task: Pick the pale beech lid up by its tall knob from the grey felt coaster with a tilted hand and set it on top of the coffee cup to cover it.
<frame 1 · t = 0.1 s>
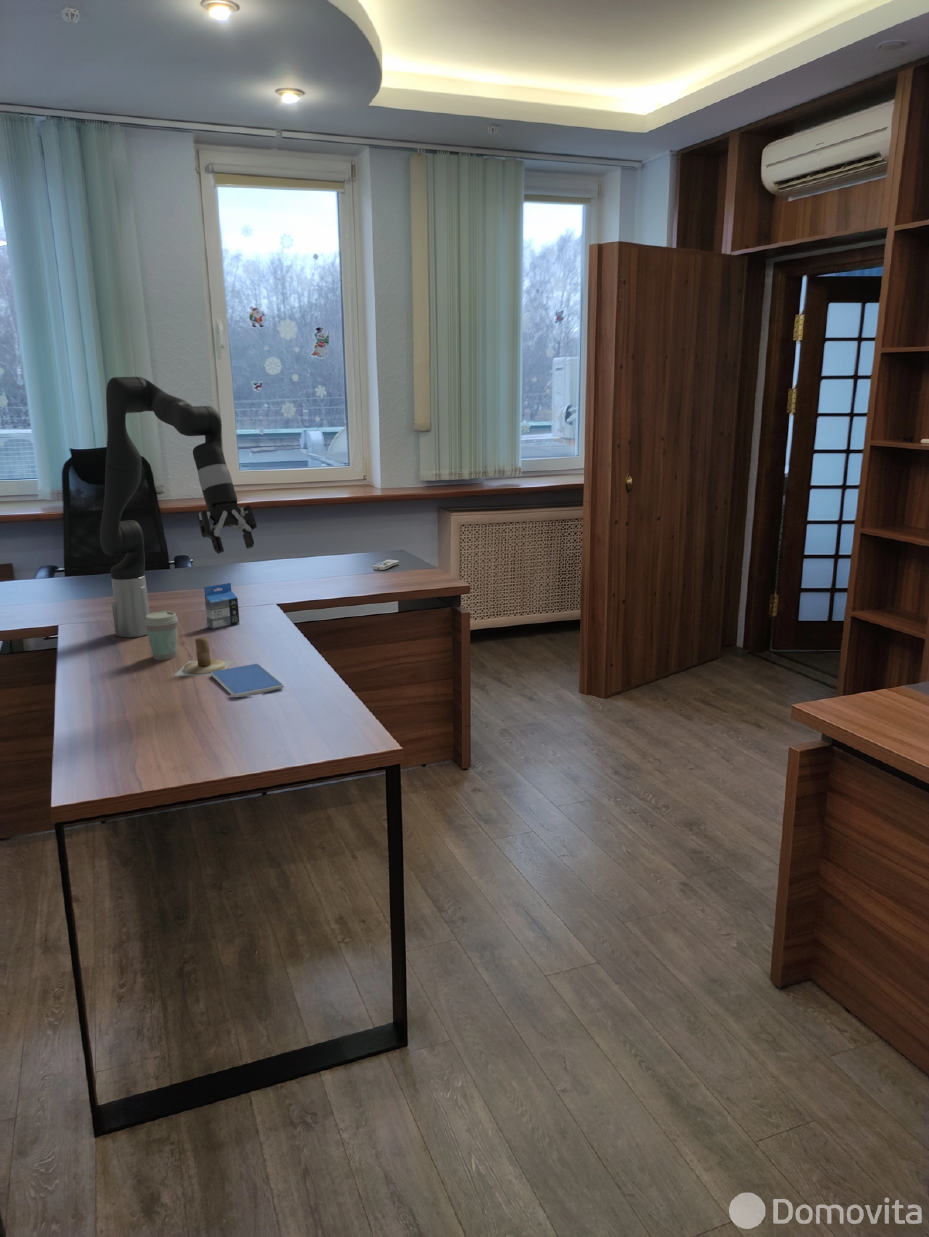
hand: (235, 550, 214), 31 cm above the table, tool tilted 20°, fingers open, 8 cm apart
coffee cup: (165, 658, 236), on the table
coaster: (204, 669, 225), on the table
tablet computer: (246, 683, 214), on the table, touching coaster
lid: (204, 667, 225), resting on coaster
ink cartridge box: (223, 626, 266), on the table
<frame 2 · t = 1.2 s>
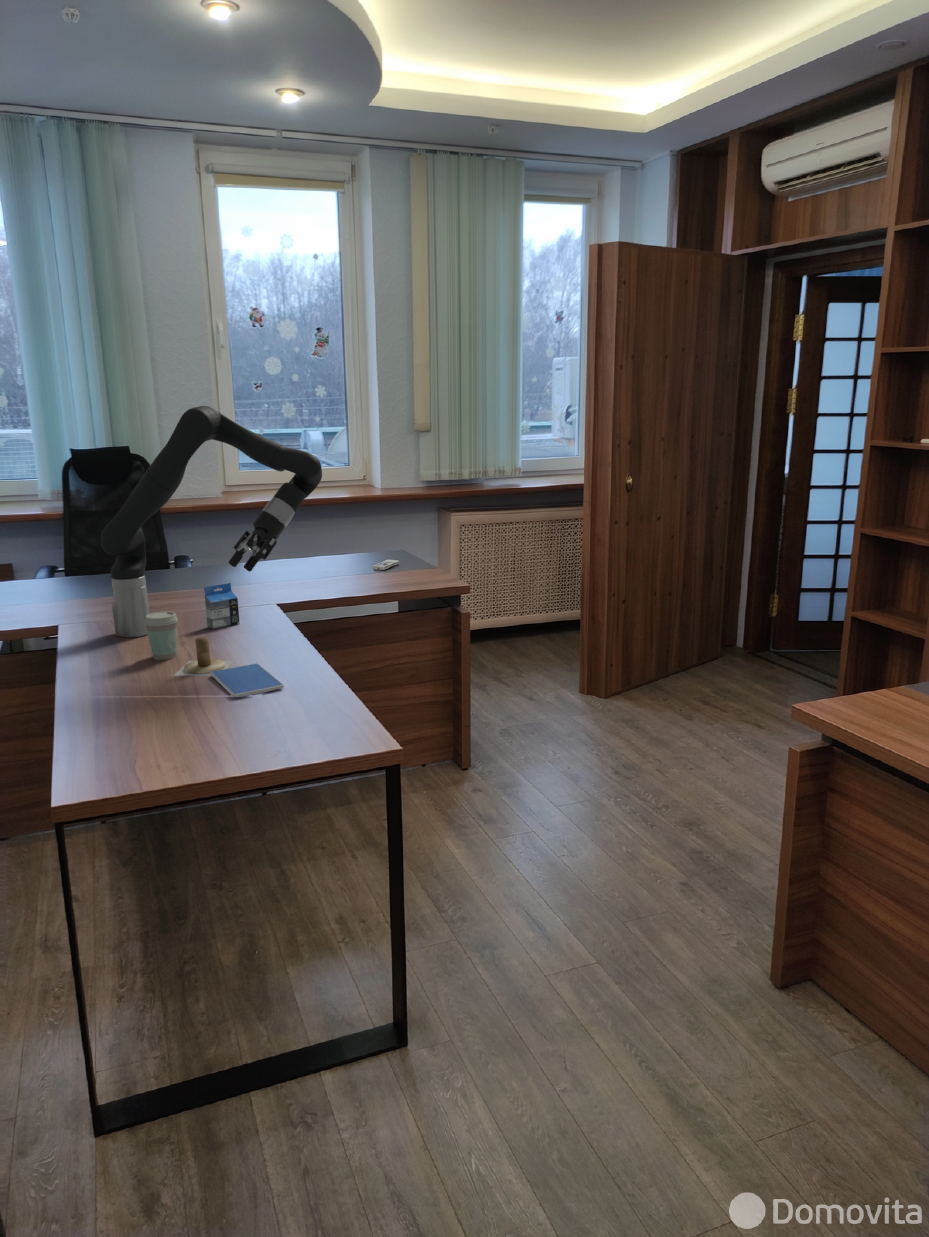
hand: (238, 567, 230), 24 cm above the table, tool tilted 45°, fingers open, 8 cm apart
nothing on the table moved.
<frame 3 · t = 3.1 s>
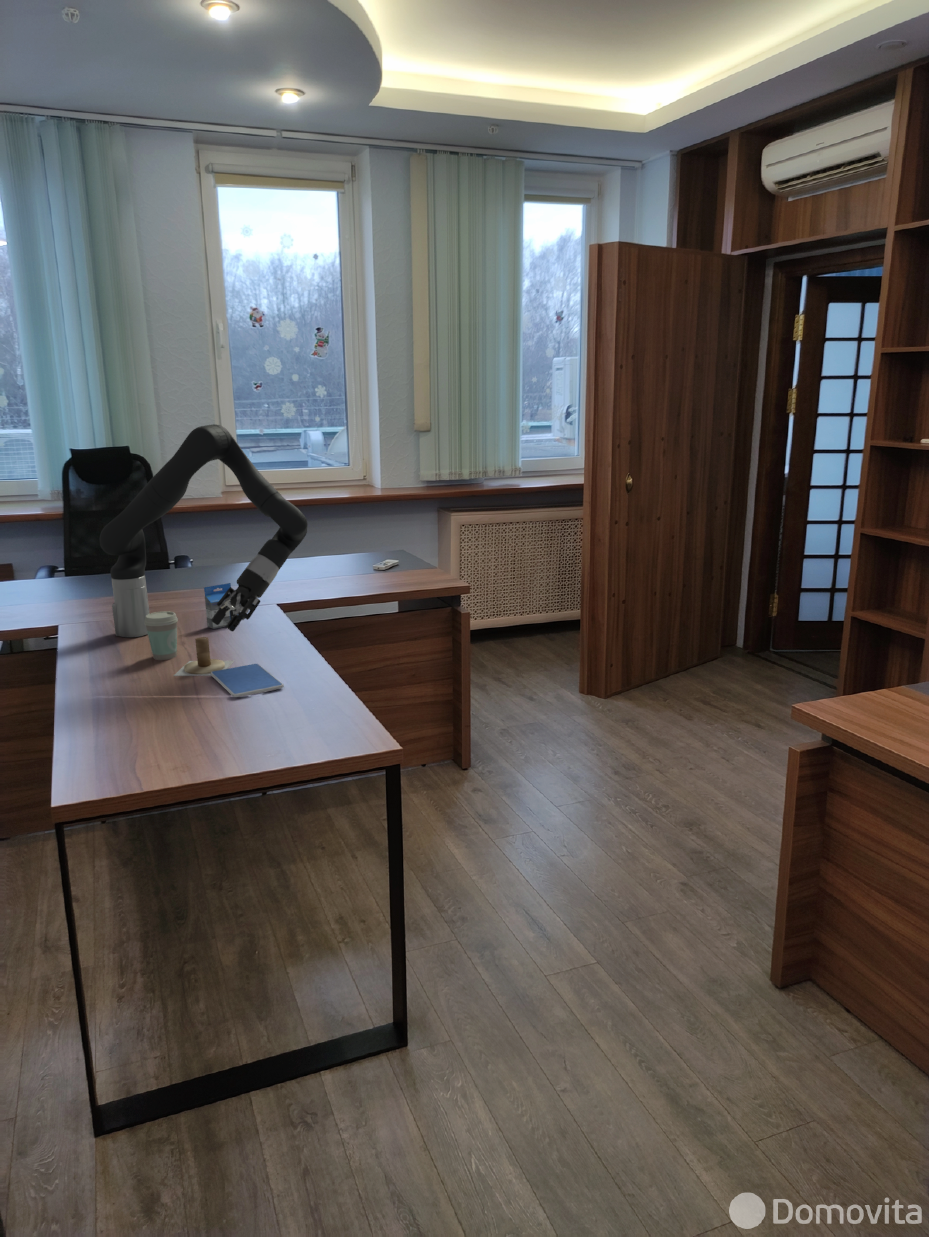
hand: (221, 626, 226), 10 cm above the table, tool tilted 45°, fingers open, 8 cm apart
nothing on the table moved.
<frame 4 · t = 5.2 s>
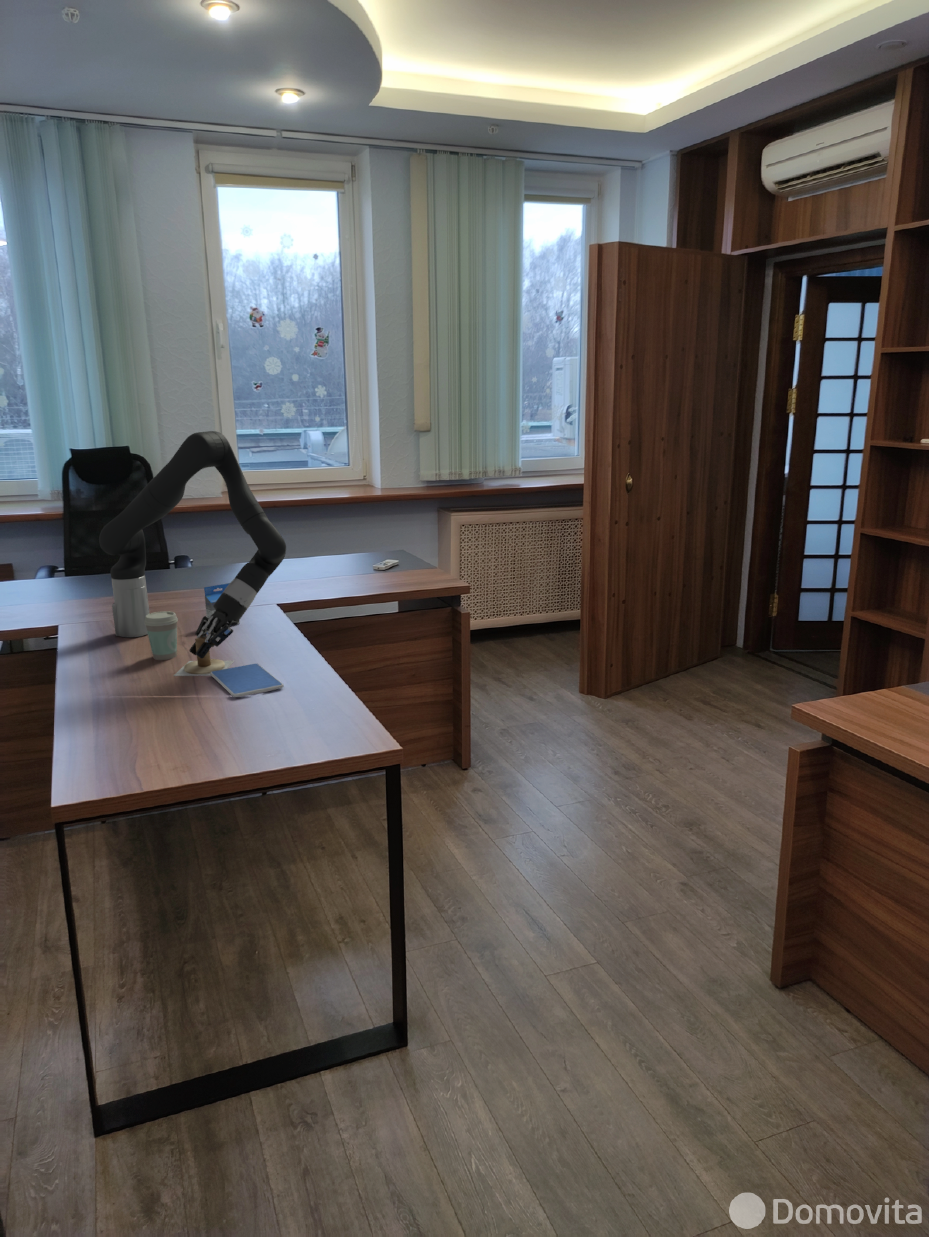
hand: (195, 654, 223), 4 cm above the table, tool tilted 45°, fingers closed on lid, 3 cm apart
lid: (204, 667, 225), resting on coaster, touching gripper
everything else where it was.
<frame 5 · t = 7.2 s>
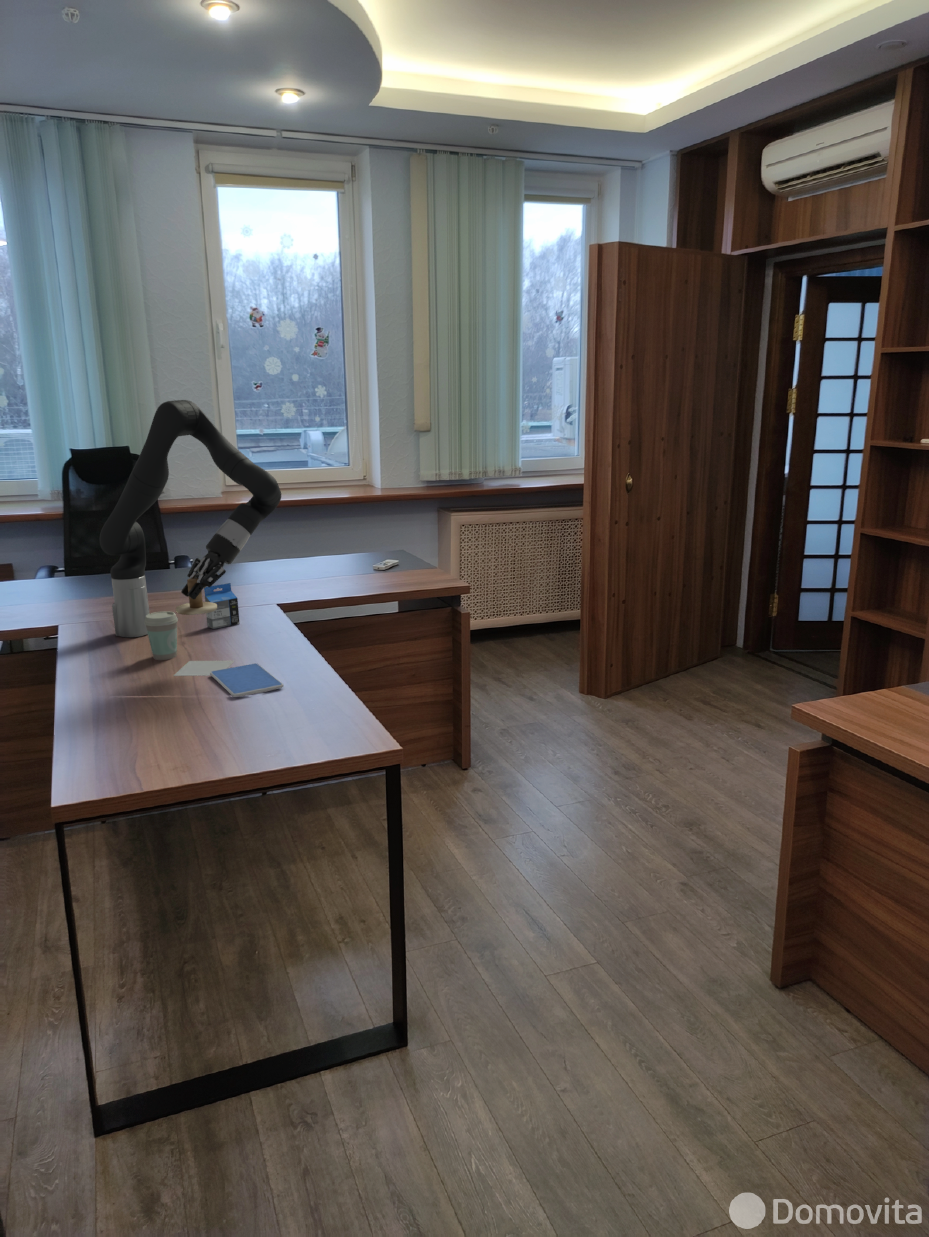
hand: (187, 595, 219), 20 cm above the table, tool tilted 45°, fingers closed on lid, 3 cm apart
lid: (196, 609, 222), point 16 cm above the table, touching gripper
everything else where it was.
when the fingers open (17 cm above the table, at t = 9.0 s): lid drops 2 cm, resting on coffee cup.
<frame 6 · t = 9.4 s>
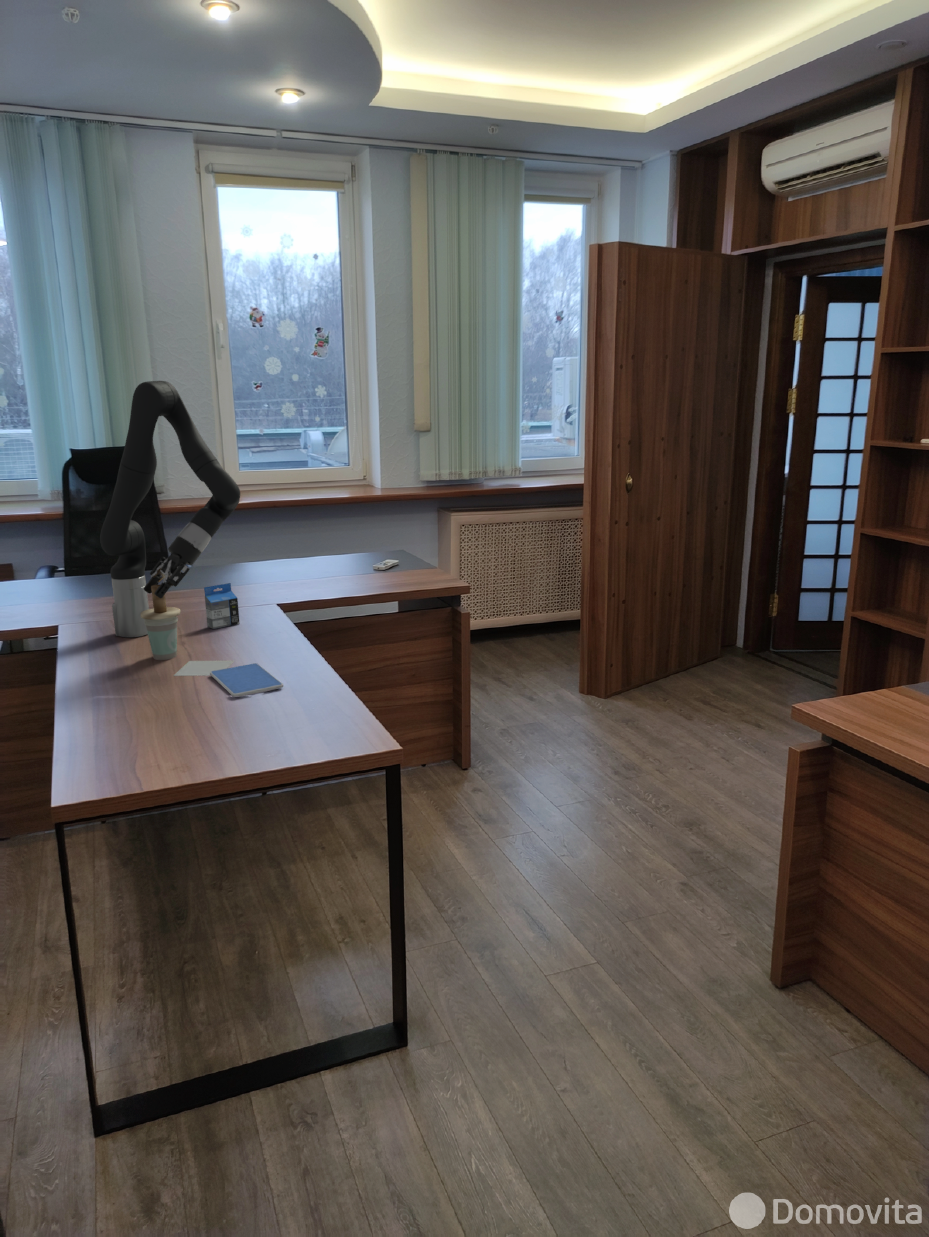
hand: (152, 593, 230), 18 cm above the table, tool tilted 45°, fingers open, 6 cm apart
coffee cup: (165, 658, 236), on the table, touching lid
lid: (160, 614, 232), point 12 cm above the table, touching coffee cup
everything else where it was.
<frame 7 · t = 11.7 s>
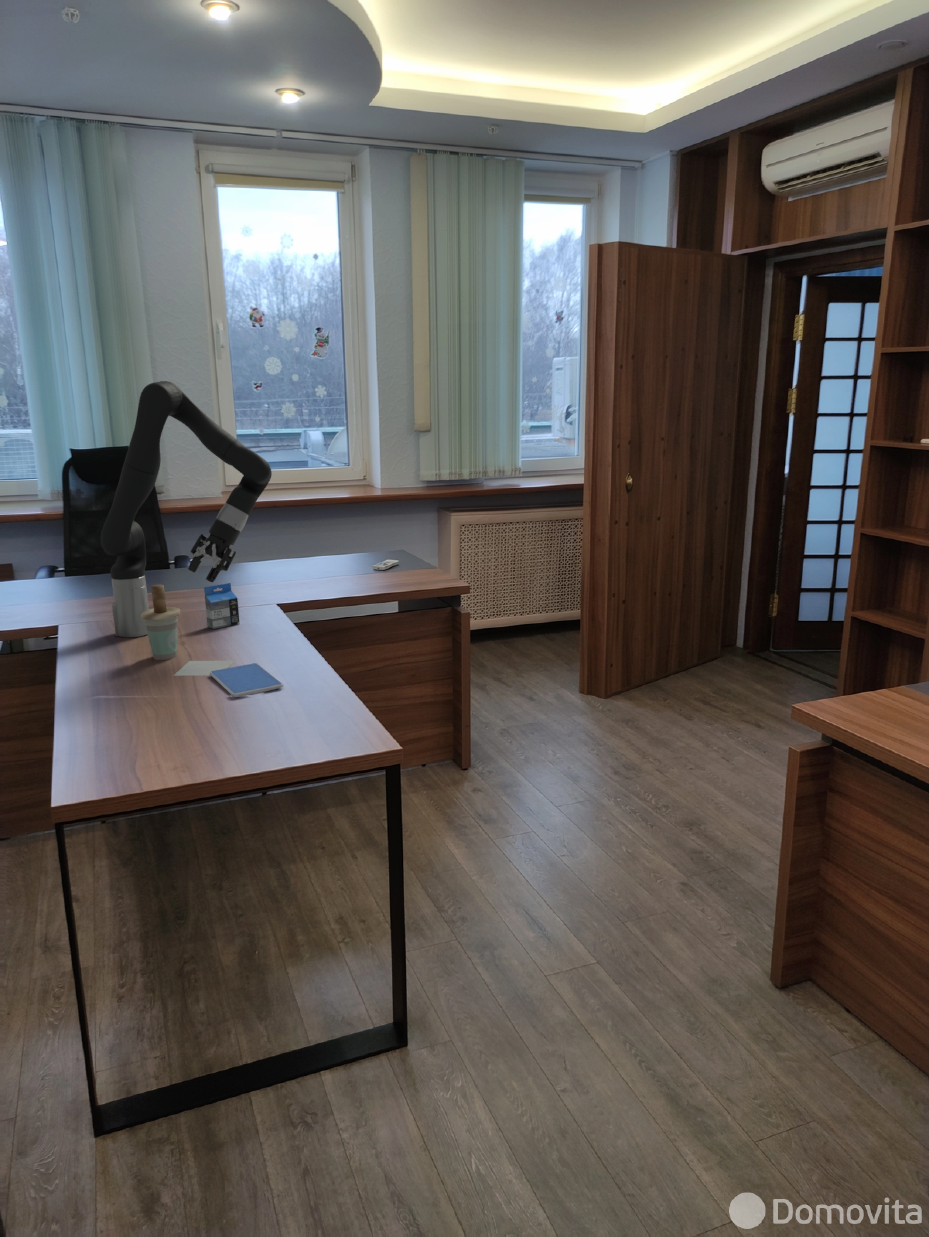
hand: (200, 576, 239), 20 cm above the table, tool tilted 35°, fingers open, 8 cm apart
nothing on the table moved.
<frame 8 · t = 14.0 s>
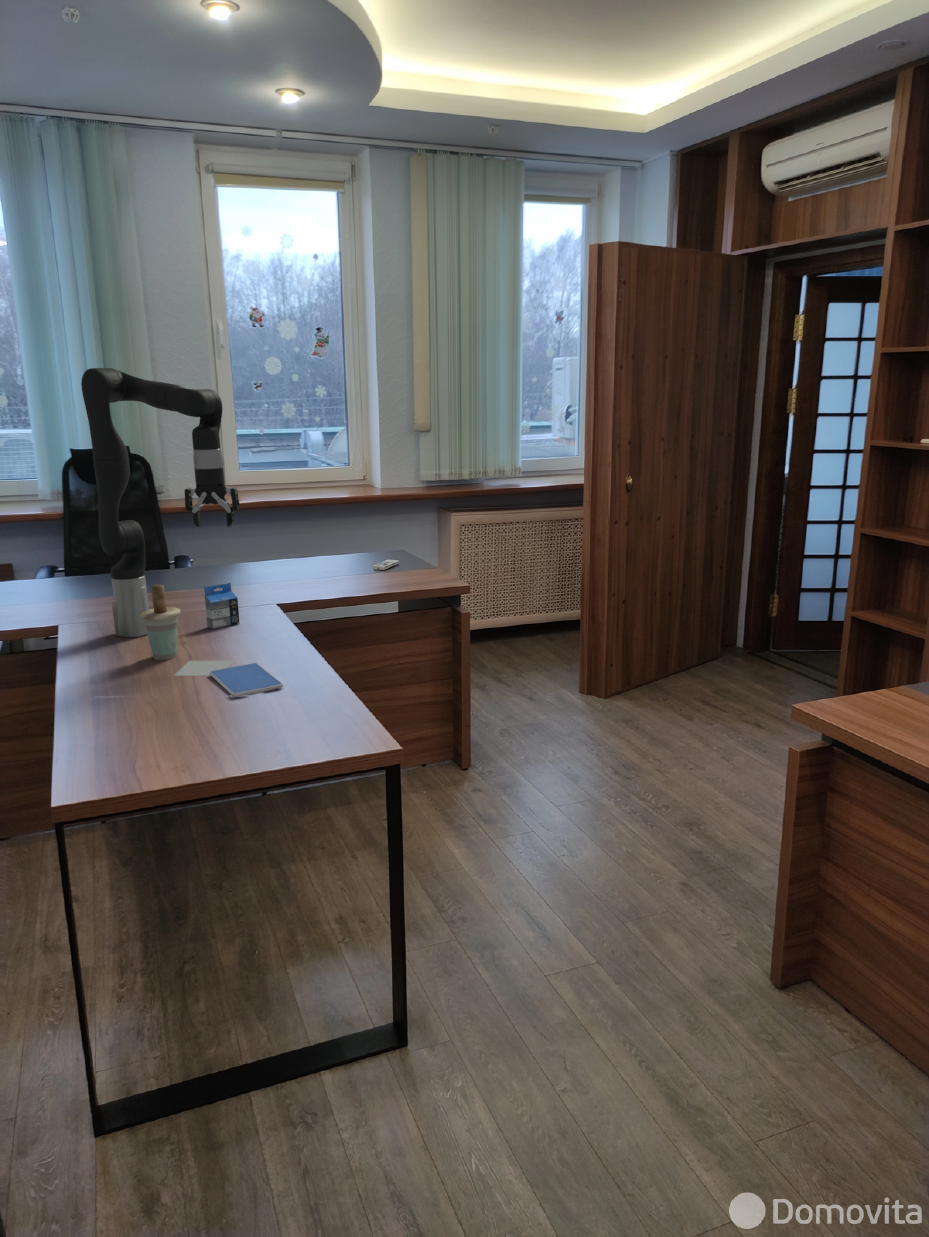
hand: (214, 526, 240), 33 cm above the table, tool pointing down, fingers open, 8 cm apart
nothing on the table moved.
at the end: lid inside the target area on the coffee cup (0.1 cm from its centre), point 12.2 cm above the coffee cup's base; lid tilted 0°; the gripper is holding nothing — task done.
